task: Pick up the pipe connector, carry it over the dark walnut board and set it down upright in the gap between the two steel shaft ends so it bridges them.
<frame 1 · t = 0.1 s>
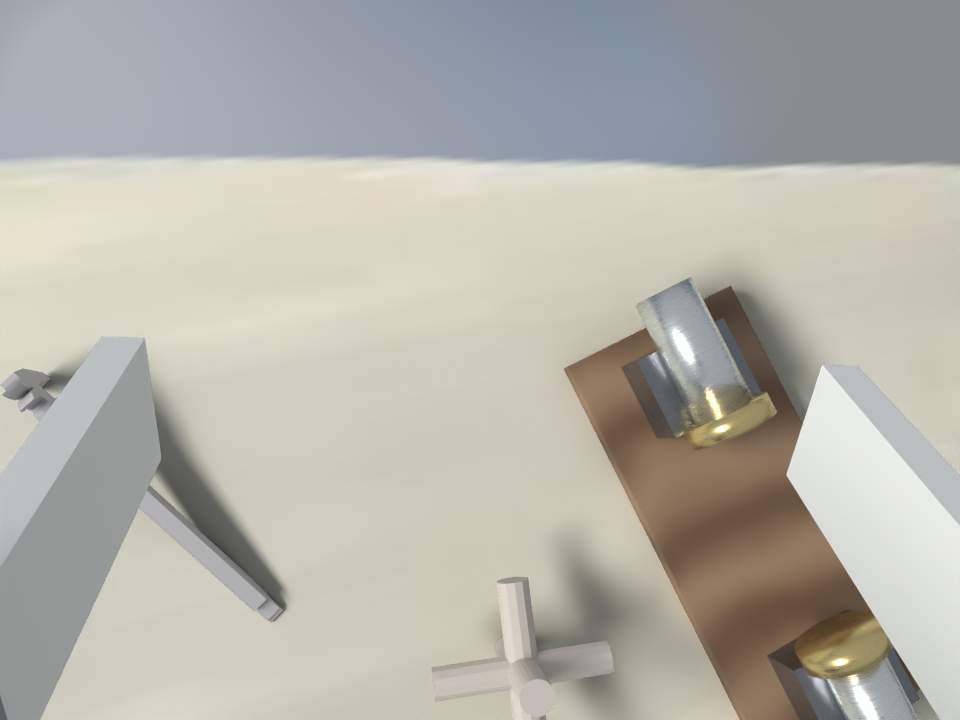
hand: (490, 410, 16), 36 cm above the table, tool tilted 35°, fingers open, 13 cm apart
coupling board: (742, 521, 53), on the table
caliper: (160, 496, 50), on the table
pipe connector: (509, 647, 51), on the table
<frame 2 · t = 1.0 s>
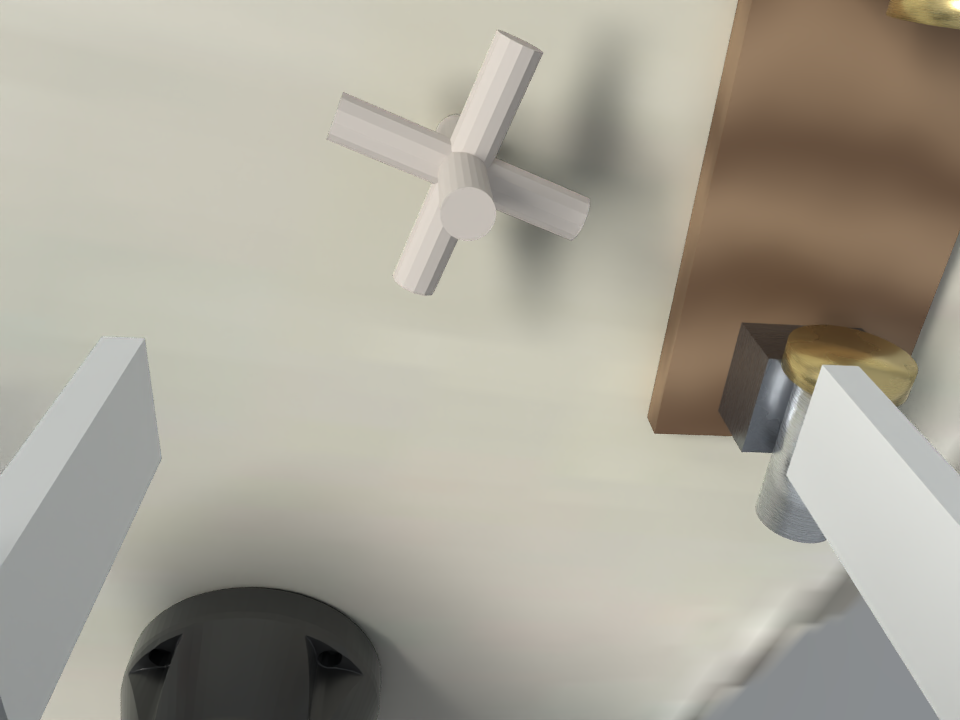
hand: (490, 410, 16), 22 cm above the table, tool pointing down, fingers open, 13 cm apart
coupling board: (834, 161, 37), on the table
pipe connector: (456, 134, 35), on the table
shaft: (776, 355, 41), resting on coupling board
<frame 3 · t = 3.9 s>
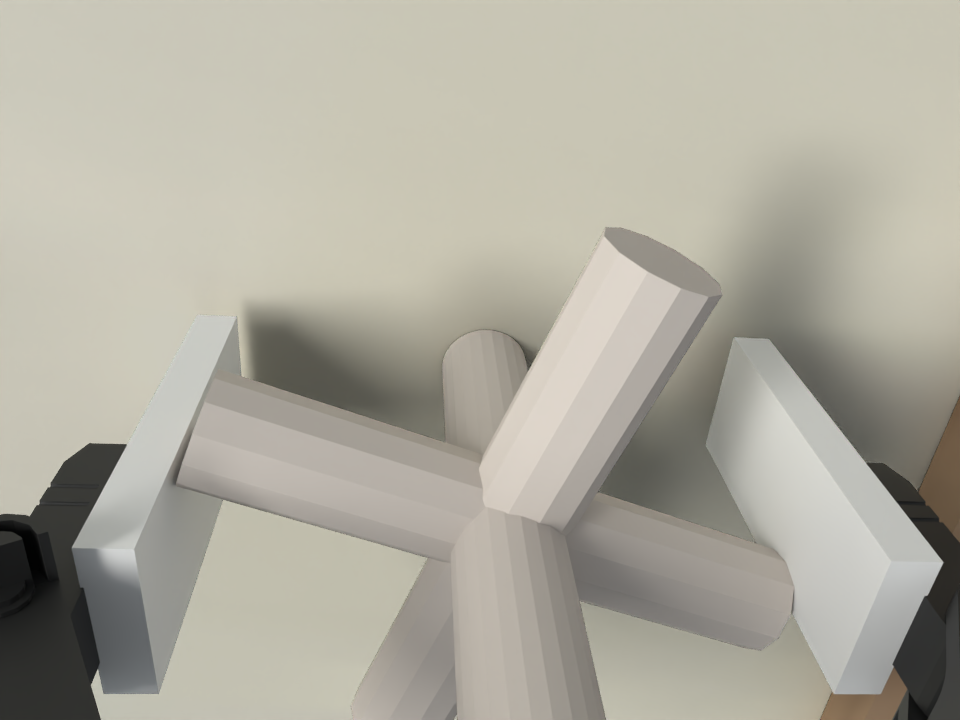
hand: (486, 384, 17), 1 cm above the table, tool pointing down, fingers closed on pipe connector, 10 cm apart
pipe connector: (483, 362, 18), on the table, touching gripper
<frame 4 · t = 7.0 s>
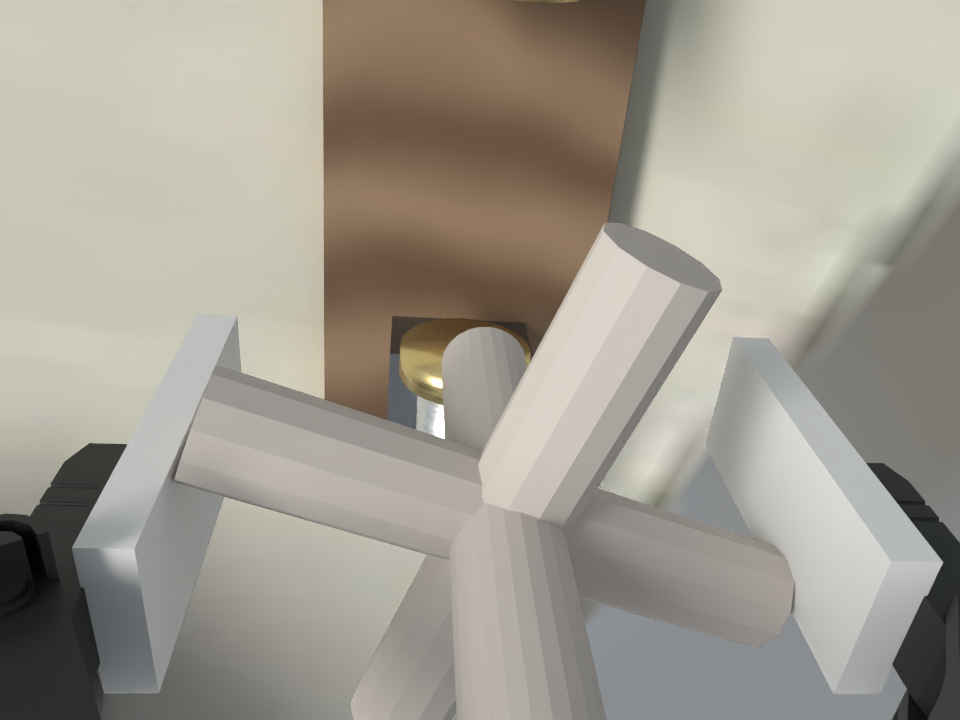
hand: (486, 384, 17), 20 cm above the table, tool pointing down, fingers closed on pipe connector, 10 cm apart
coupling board: (471, 144, 34), on the table
pipe connector: (483, 359, 18), point 19 cm above the table, touching gripper
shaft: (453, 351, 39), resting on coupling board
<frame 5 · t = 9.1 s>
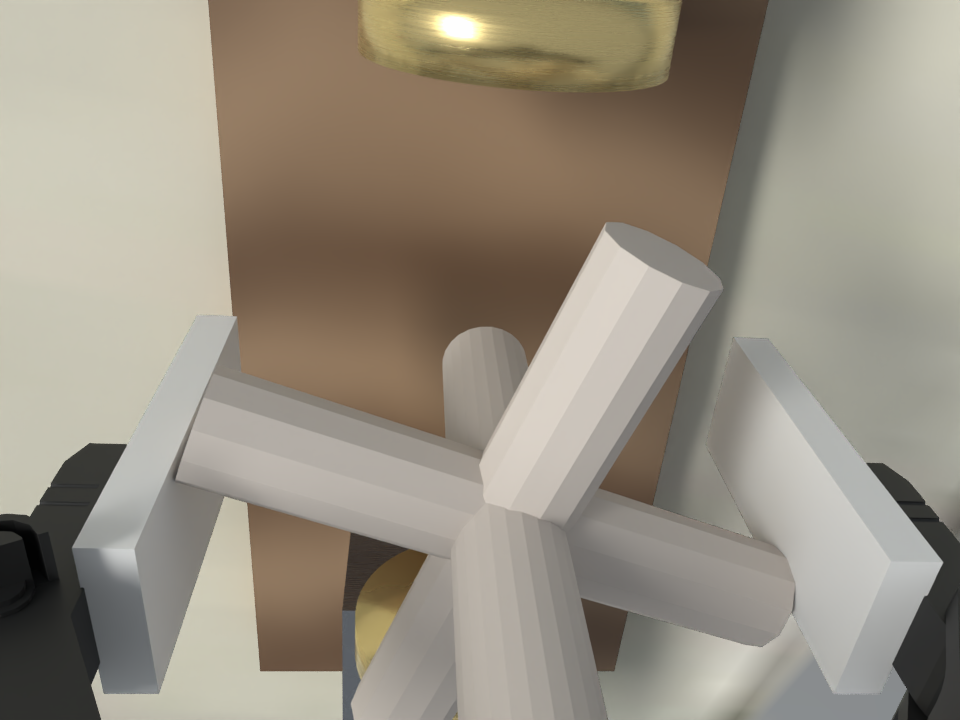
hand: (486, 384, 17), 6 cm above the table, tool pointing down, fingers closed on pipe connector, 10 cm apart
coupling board: (467, 272, 22), on the table
pipe connector: (483, 359, 18), point 5 cm above the table, touching gripper
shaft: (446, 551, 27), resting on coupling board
when the fingers open (3 cm above the table, at t = 10.5 s): pipe connector stays where it is, resting on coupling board.
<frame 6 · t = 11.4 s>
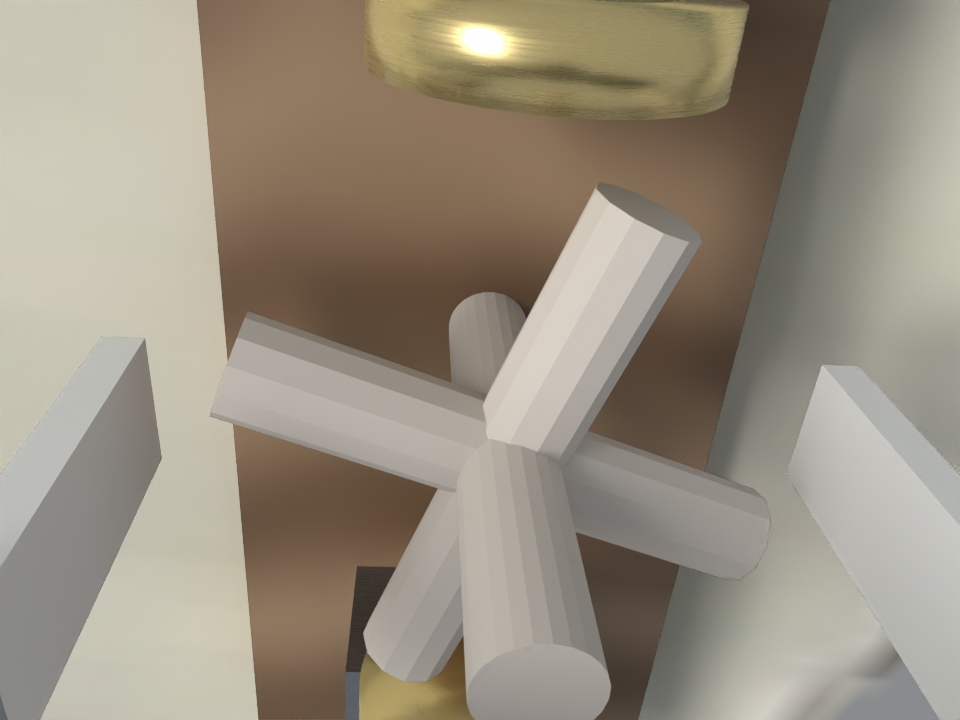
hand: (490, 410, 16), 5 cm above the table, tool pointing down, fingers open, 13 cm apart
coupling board: (484, 300, 20), on the table
pipe connector: (487, 323, 19), point 1 cm above the table, touching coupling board
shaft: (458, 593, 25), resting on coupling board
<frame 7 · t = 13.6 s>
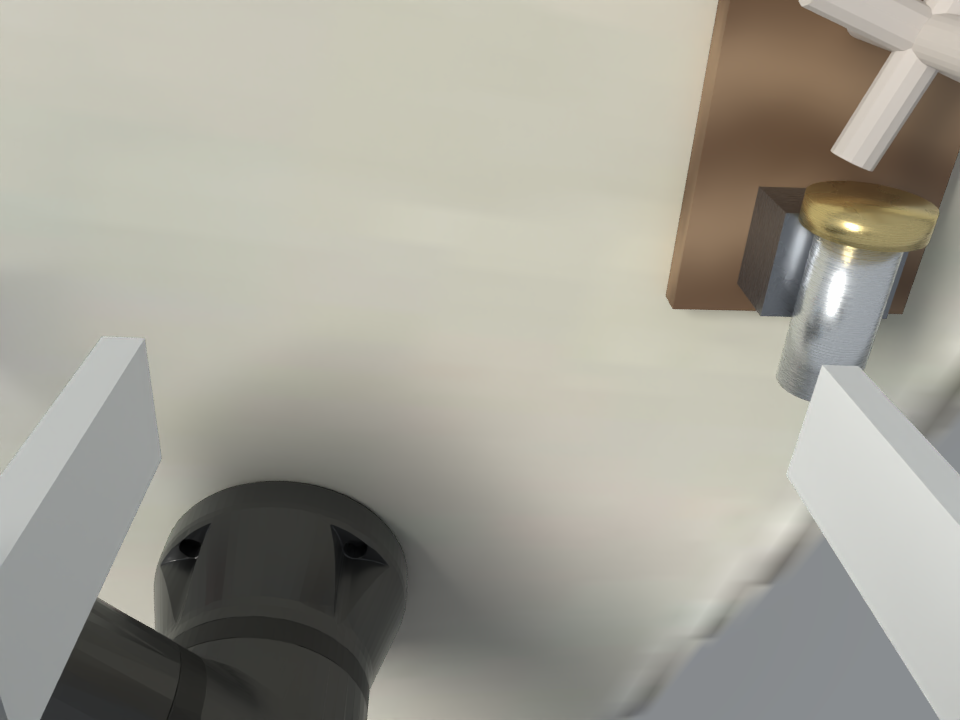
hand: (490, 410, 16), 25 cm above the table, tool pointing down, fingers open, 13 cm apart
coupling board: (851, 11, 36), on the table
pipe connector: (864, 15, 35), point 1 cm above the table, touching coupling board
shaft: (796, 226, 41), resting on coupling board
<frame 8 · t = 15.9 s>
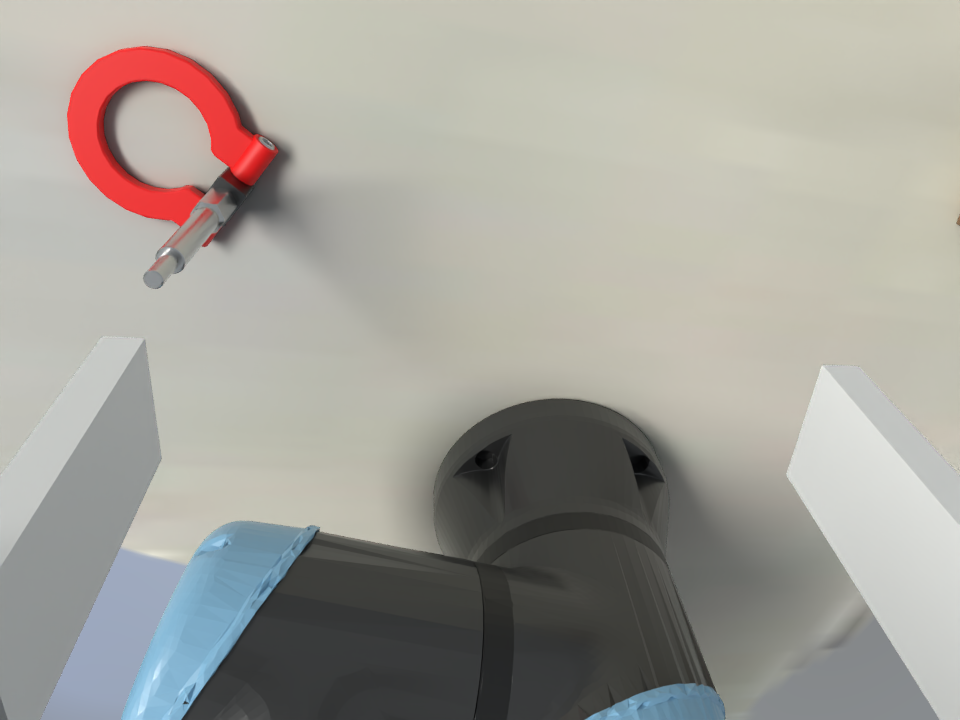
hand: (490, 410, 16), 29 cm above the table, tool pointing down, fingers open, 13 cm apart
tow hook: (169, 138, 41), on the table
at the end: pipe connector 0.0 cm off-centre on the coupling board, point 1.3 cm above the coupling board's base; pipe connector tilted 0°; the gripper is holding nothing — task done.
